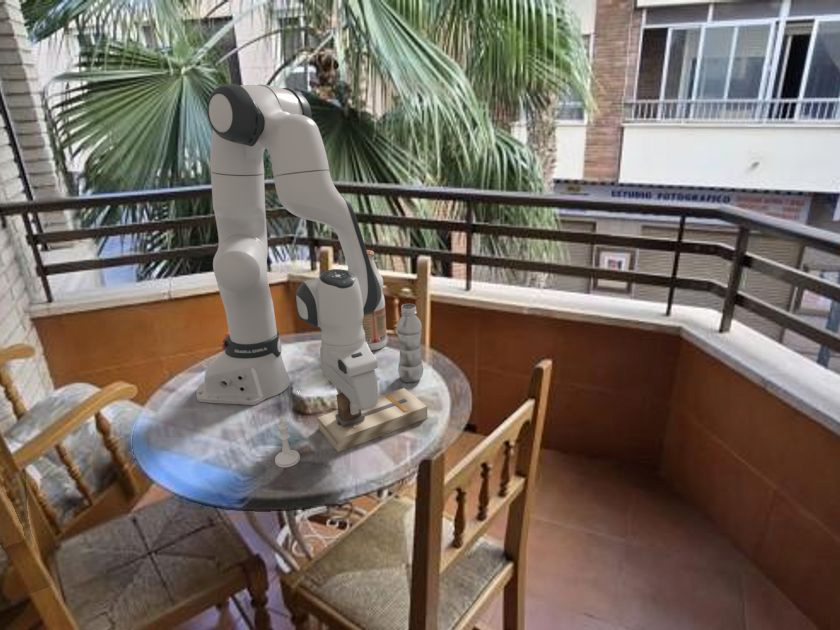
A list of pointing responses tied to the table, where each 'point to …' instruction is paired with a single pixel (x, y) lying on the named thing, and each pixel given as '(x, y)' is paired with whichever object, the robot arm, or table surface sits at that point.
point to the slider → (346, 412)
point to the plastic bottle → (409, 344)
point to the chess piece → (286, 448)
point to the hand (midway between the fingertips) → (349, 408)
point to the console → (374, 420)
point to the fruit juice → (375, 316)
